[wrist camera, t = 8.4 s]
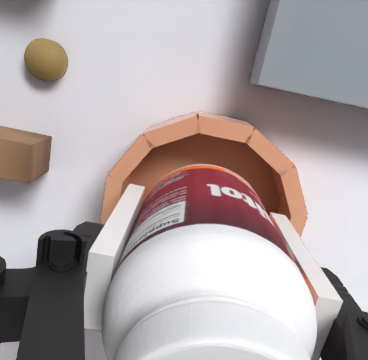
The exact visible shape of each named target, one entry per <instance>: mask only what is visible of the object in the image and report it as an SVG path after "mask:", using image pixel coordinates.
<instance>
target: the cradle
mask: <svg viewBox="0 0 368 360" xmlns="http://www.w3.org/2000/svg"><path fill="white" fill-rule="evenodd" d="M24 59H25V64H26V67H27V69H28V70H29V72H30V73H31V74H32V75H33V76H35V77H36V78H38V79H41V80H56V79H59V78H60V77H62V76H63V75H64V73H65V72H66V70H67V66H68V58H67V55H66V52H65V50H64V49H63V48H62V47H61V46H60V45H59V44H58V43H56V42H55V41H52V40H48V39H43V38H40V39H35V40H33V41H32V42H31V43H29V45H28V46H27V48H26V50H25V54H24ZM51 138H52V137H51V136H46V135H41V134H36V133H32V132H27V131H22V130H17V129H12V128H8V127H3V126H0V178H3V179H8V180H13V181H18V182H23V183H30V182H31V181H33V180H34V179H36V178H37V177H39V176H41V175H42V174H44V173H45V172H47V171H48V170H49V160H50V149H51Z"/></svg>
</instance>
